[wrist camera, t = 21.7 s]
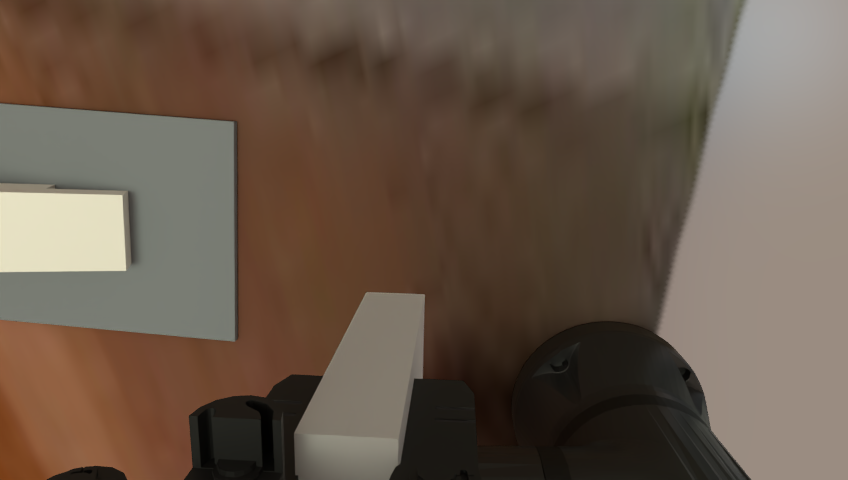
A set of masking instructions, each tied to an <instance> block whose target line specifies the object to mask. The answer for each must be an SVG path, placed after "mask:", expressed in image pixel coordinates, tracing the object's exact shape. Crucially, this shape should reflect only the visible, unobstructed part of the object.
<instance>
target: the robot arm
mask: <svg viewBox="0 0 848 480" xmlns="http://www.w3.org/2000/svg"><path fill="white" fill-rule="evenodd" d="M424 305H425V294H402V293H377V292H366V294H365V296H364V298H363V300H362V302H361V304H360V306H359V307H358V309H357V311H356V313H355V315H354V317H353V319H352V321H351V323H350V325H349V327H348V329H347V331H346V333H345V335H344V337H343V339H342V341H341V343H340V345H339V347H338V348H337V350H336V352H335V354H334V356H333V358H332V360H331V362H330V364H329V366H328V368H327V370H326V372H325V374H324V376H312V375H290V376H289V377H287V378H286V379H284V380H282V381H281V382H279V383H278V384H276V385H275V386H274V387H273V388H272V390H271V391H270V392H269V394H268V395H267V397H266V398H264V397H258V396H252V395H250V396H233V397H228V398H224V399H219V400H215V401H213V402H211V403H209V404H206V405H204V406H202V407H200V408H198V409H197V410H196V411H195V412H193V413H192V414H191V415H189V424H190V437H191V450H192V463H193V468H192V470H191V471H190V472H189V474H188V475H187V476H186V478H185V479H184V480H751V479H750V478H749V476H748V475H747V474H746V473H745V471H744V470H743V469H742V468H741V467H740V465H739V464H738V463H737V462H736V460H734V458H733V457H732V456H731V454H730V453H729V452H728V451H727V449H726V448H725V447H724V446H723V445H722V443H721V442H720V441H719V440H718V438H717V437H716V436H715V435H714V433H713V432H712V431H711V428H710V423H709V417H708V412H707V406H706V401H705V396H704V393H703V390H702V387H701V385H700V383H699V380H698V378H697V377H696V375H695V373H694V371H693V370H692V369H691V367H690V366H689V365H688V363H687V362H686V361H685V360H684V359H683V358H682V356H681V355H680V354H679V353H678V352H677V351H676V350H675V349H674V348H673V347H672V346H671V345H670V344H669V343H668V342H666V341H665V340H664V339H662V338H661V337H659V336H658V335H656V334H654V333H652V332H650V331H648V330H646V329H644V328H641V327H638V326H634V325H631V324H626V323H619V322H596V323H589V324H584V325H580V326H577V327H573V328H571V329H568V330H566V331H564V332H561V333H560V334H558V335H556V336H554V337H553V338H551V339H549V340H548V341H547V342H545V343H544V344H543V345H542V346H540V347H539V348H538V349H537V350H536V351H535V352H534V353H533V354H532V355H531V357H530V358H529V359H528V360H527V362H526V363H525V365H524V366H523V368H522V370H521V371H520V373H519V375H518V378H517V380H516V383H515V386H514V390H513V395H512V403H511V412H512V420H513V426H514V431H515V436H516V440H517V443H518V446H477V435H476V418H475V401H474V393H473V392H472V391H471V389H470V388H469V387H468V386H467V385H466V384H465V382H464V381H457V380H436V379H423V347H424ZM47 480H127V479H126V476H125V474H124V473H123V472H121V471H119V470H117V469H115V468H113V467H101V466H91V467H85V468H83V467H81V468H76V469H72V470H70V471H67V472H64V473H61V474H58V475H55V476H53V477H51V478H49V479H47Z"/></svg>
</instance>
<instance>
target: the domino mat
mask: <svg viewBox="0 0 848 480" xmlns="http://www.w3.org/2000/svg"><path fill="white" fill-rule="evenodd" d="M0 183H14V184H49V185H55V189H79V190H117V191H128V202H129V223H130V243H131V265H130V266H129V268H128V269H127V270H126V271H62V272H0V320H10V321H21V322H32V323H42V324H53V325H64V326H75V327H85V328H96V329H107V330H117V331H128V332H139V333H150V334H160V335H171V336H182V337H192V338H203V339H214V340H225V341H236V340H237V339H238V316H237V122H235V121H222V120H210V119H197V118H184V117H171V116H158V115H145V114H133V113H120V112H107V111H94V110H81V109H68V108H55V107H43V106H30V105H17V104H4V103H0Z"/></svg>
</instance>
